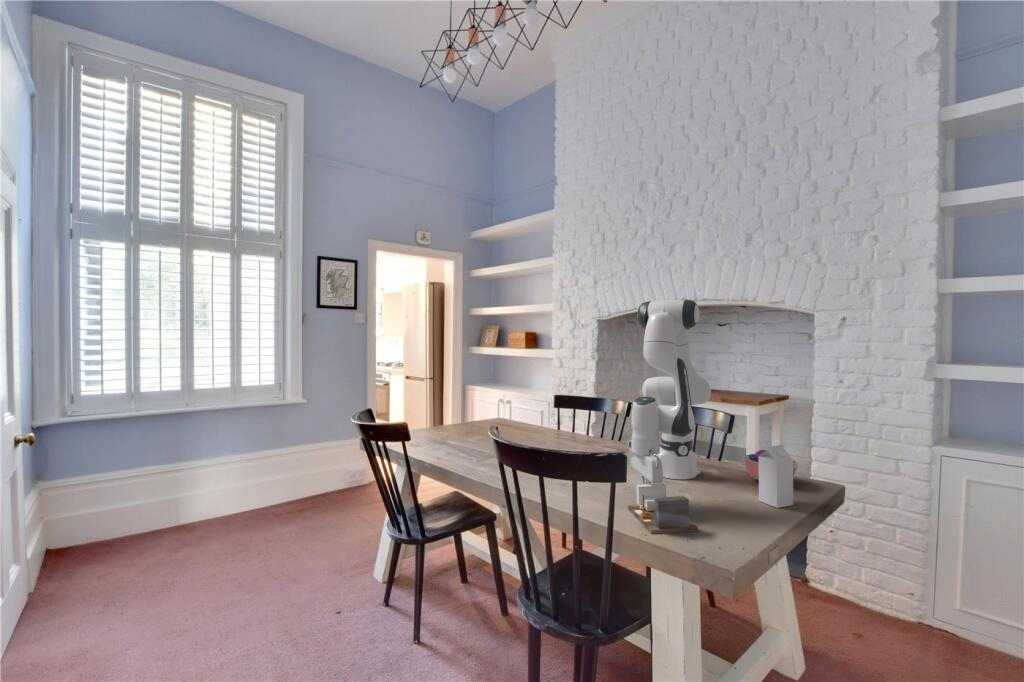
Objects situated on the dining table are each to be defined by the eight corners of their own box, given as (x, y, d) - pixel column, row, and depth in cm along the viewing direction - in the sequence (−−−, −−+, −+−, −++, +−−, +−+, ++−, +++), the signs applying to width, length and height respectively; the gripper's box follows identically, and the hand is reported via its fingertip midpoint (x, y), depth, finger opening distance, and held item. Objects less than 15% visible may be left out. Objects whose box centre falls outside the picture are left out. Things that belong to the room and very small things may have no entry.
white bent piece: (636, 505, 155) (636, 484, 155) (663, 504, 156) (663, 483, 156) (646, 515, 147) (645, 493, 146) (675, 513, 147) (674, 492, 147)
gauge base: (627, 508, 156) (627, 480, 156) (669, 505, 158) (668, 478, 158) (651, 533, 137) (650, 502, 136) (698, 530, 138) (697, 499, 138)
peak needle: (641, 515, 146) (640, 494, 146) (650, 515, 146) (649, 494, 146) (642, 516, 145) (641, 495, 145) (651, 516, 145) (650, 494, 145)
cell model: (773, 492, 168) (773, 460, 168) (732, 476, 187) (732, 447, 187) (811, 487, 173) (811, 456, 172) (767, 472, 192) (767, 444, 192)
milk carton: (758, 501, 160) (758, 444, 160) (774, 498, 162) (773, 442, 162) (777, 508, 153) (776, 449, 153) (793, 505, 156) (792, 447, 155)
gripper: (668, 454, 149) (668, 498, 149) (643, 439, 169) (644, 478, 170) (648, 455, 148) (649, 499, 149) (626, 440, 169) (626, 479, 169)
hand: (646, 488), depth 159 cm, fingers closed
